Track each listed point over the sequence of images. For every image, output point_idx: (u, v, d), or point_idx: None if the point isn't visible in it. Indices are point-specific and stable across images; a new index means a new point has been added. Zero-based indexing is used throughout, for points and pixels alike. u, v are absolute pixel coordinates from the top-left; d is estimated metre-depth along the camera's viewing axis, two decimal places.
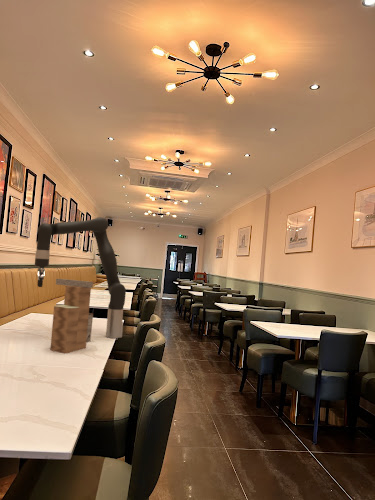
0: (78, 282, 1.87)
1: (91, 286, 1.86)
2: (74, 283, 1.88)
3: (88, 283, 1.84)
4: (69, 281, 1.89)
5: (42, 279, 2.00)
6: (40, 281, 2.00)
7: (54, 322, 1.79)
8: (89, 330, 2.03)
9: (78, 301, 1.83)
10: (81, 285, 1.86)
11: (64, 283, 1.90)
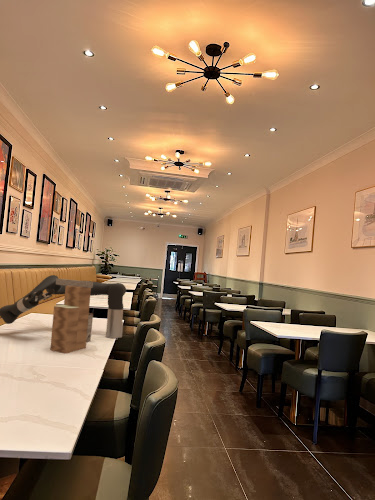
0: (78, 282, 1.87)
1: (91, 286, 1.86)
2: (74, 283, 1.88)
3: (88, 283, 1.84)
4: (69, 281, 1.89)
5: (34, 293, 1.93)
6: None
7: (54, 322, 1.79)
8: (89, 330, 2.03)
9: (78, 301, 1.83)
10: (81, 285, 1.86)
11: (64, 283, 1.90)
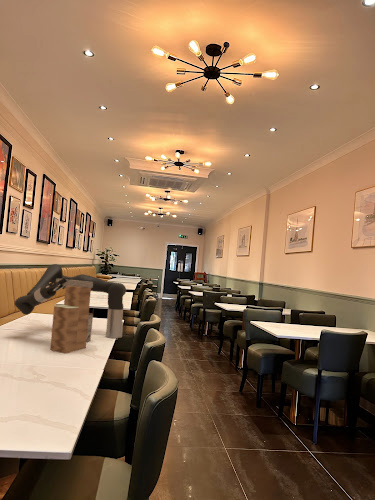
0: (78, 282, 1.87)
1: (91, 286, 1.86)
2: (74, 283, 1.88)
3: (88, 283, 1.84)
4: (69, 281, 1.89)
5: (57, 281, 1.91)
6: None
7: (54, 322, 1.79)
8: (89, 330, 2.03)
9: (78, 301, 1.83)
10: (81, 285, 1.86)
11: (64, 283, 1.90)
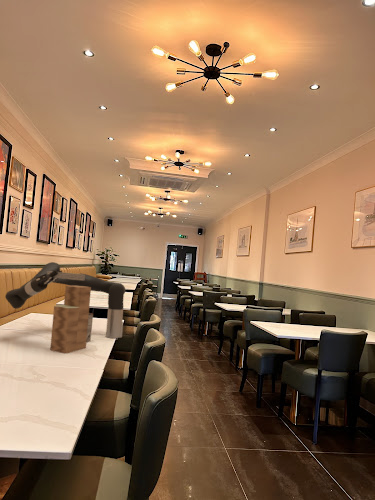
0: (69, 274, 1.80)
1: (83, 279, 1.79)
2: (65, 276, 1.81)
3: (80, 275, 1.78)
4: (60, 274, 1.83)
5: (48, 274, 1.84)
6: None
7: (54, 322, 1.79)
8: (89, 330, 2.03)
9: (78, 301, 1.83)
10: (72, 277, 1.80)
11: (55, 275, 1.84)
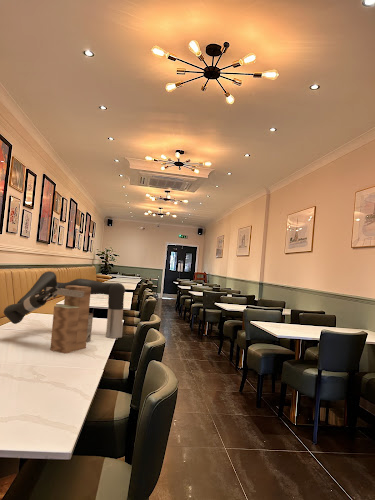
0: (69, 291, 1.79)
1: (82, 296, 1.78)
2: (65, 292, 1.80)
3: (79, 292, 1.77)
4: (60, 290, 1.82)
5: (47, 290, 1.83)
6: None
7: (54, 322, 1.79)
8: (89, 330, 2.03)
9: (78, 301, 1.83)
10: (72, 294, 1.78)
11: (55, 292, 1.83)
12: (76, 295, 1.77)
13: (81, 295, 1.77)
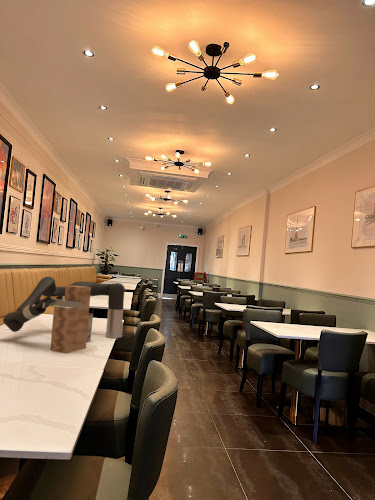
0: (68, 302, 1.79)
1: (81, 307, 1.78)
2: (64, 303, 1.80)
3: (78, 304, 1.77)
4: (58, 301, 1.81)
5: (42, 299, 1.81)
6: None
7: (54, 322, 1.79)
8: (89, 330, 2.03)
9: (78, 301, 1.83)
10: (71, 305, 1.78)
11: (53, 303, 1.83)
12: (75, 306, 1.77)
13: (80, 306, 1.77)
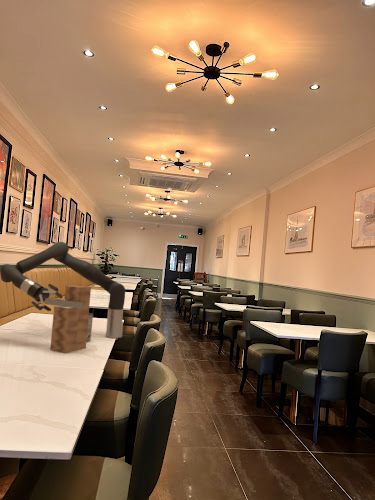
0: (68, 302, 1.79)
1: (81, 307, 1.78)
2: (64, 303, 1.80)
3: (78, 304, 1.77)
4: (58, 301, 1.81)
5: None
6: None
7: (54, 322, 1.79)
8: (89, 330, 2.03)
9: (78, 301, 1.83)
10: (71, 305, 1.78)
11: (53, 303, 1.83)
12: (75, 306, 1.77)
13: (80, 306, 1.77)
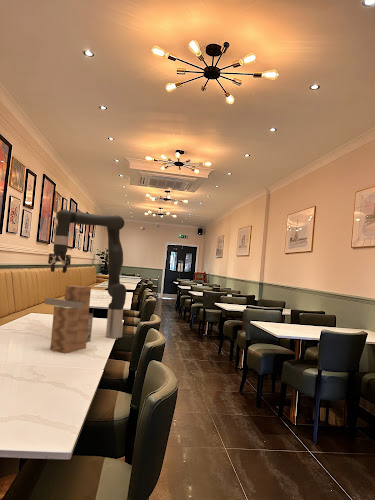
0: (68, 302, 1.79)
1: (81, 307, 1.78)
2: (64, 303, 1.80)
3: (78, 304, 1.77)
4: (58, 301, 1.81)
5: None
6: None
7: (54, 322, 1.79)
8: (89, 330, 2.03)
9: (78, 301, 1.83)
10: (71, 305, 1.78)
11: (53, 303, 1.83)
12: (75, 306, 1.77)
13: (80, 306, 1.77)
